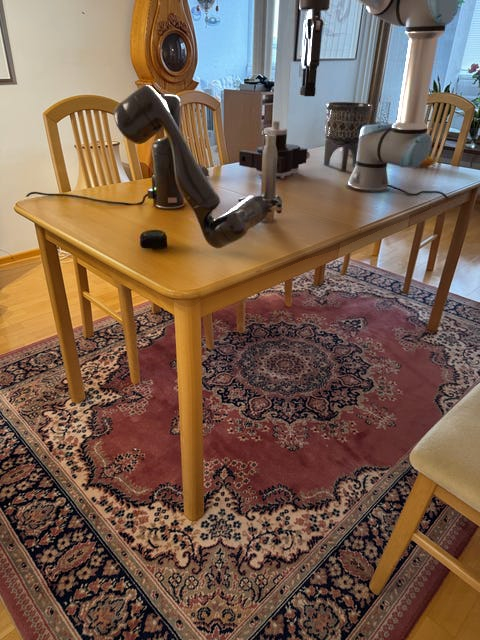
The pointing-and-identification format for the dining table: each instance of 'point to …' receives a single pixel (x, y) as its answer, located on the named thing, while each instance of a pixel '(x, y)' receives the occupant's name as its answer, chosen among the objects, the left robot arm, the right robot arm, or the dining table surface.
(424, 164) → the toy
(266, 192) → the bottle
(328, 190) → the dining table surface
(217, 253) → the dining table surface
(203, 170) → the rock
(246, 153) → the mechanical component
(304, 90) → the cap
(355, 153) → the planter
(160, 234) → the tape measure
